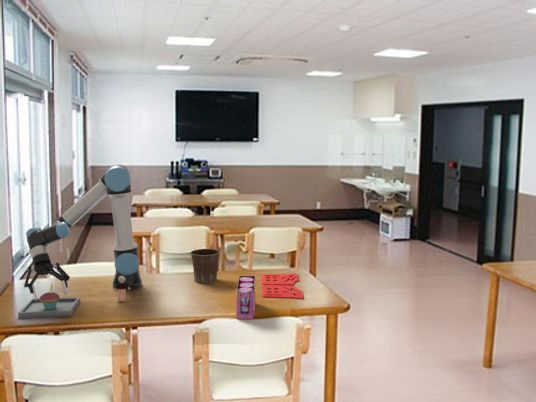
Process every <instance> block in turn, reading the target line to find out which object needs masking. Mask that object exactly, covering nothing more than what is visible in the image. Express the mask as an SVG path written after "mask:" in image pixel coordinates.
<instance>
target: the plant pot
mask: <svg viewBox="0 0 536 402" xmlns="http://www.w3.org/2000/svg"><path fill="white" fill-rule="evenodd" d="M189 254H190V255H191V261H192V270H193V276H194V278H193V280H194V282H196V283H199V284H202V283H204V284H209V283H210V284H212V283H215V282H217V280H218V266H219V258H220V254H221V251H220V250H219V249H216V248H215V249H214V248H198V249H194V250H191V251H190V252H189Z"/></svg>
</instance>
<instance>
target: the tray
mask: <svg viewBox="0 0 536 402" xmlns="http://www.w3.org/2000/svg"><path fill="white" fill-rule="evenodd" d="M39 298H40V297H37V300H34V298H31V299H30V300H29V301H28V302H27V303H26V304H24V306H23V307H22V308H21V309H20V310H19V311H18V312H17V317H18V319H39V318H68V317H71V316H72V315H73V313H74V312H75V311H76V309H77V307H78V306H79V304H80V303H81V299H80V298H81V297H78V296H77V297H60V298H59V300H58V302H57V304H56V308H54V309H45V308H44V305H43V303H42V302H40V300H39Z"/></svg>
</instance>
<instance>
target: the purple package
mask: <svg viewBox="0 0 536 402" xmlns="http://www.w3.org/2000/svg"><path fill="white" fill-rule="evenodd" d="M238 278H239V279H238V283H237V286H236V309H235V310H236V314H235V317H236V319H237V320H238V319H239V320H240V319H241V320H253V319H254V316H255V307H256V275H239V277H238Z"/></svg>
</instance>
